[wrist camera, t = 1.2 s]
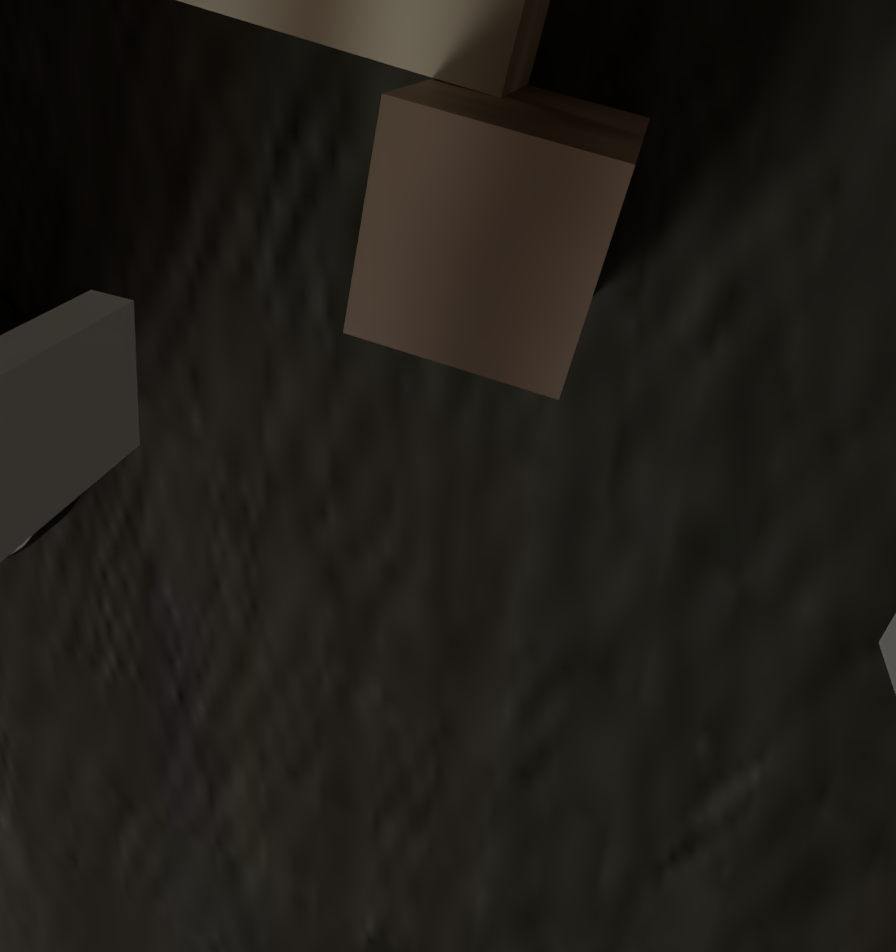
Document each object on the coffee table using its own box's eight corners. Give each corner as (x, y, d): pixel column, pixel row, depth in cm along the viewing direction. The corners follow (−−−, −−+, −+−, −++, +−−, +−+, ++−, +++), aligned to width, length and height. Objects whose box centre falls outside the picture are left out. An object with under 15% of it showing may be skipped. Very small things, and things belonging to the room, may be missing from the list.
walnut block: (430, 249, 30) (343, 332, 22) (468, 67, 27) (382, 93, 19) (592, 296, 29) (558, 399, 22) (650, 117, 26) (635, 165, 19)
